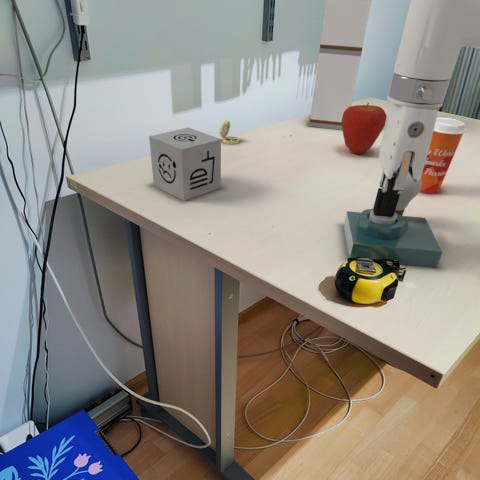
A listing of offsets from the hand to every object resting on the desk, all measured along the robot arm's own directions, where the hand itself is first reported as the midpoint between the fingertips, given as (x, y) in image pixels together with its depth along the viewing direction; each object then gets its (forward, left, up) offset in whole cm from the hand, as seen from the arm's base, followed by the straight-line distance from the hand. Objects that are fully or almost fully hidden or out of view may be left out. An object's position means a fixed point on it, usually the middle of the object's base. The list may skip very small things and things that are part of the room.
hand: (382, 213), depth 70 cm
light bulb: (-5, -10, -6) cm, 13 cm away
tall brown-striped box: (+4, -76, -6) cm, 76 cm away
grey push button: (0, 0, -2) cm, 2 cm away
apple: (-2, -50, -6) cm, 50 cm away
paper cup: (-15, -28, -6) cm, 32 cm away
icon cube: (+37, -18, -6) cm, 41 cm away
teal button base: (-2, 0, -6) cm, 6 cm away
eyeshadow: (+32, -51, -6) cm, 60 cm away
